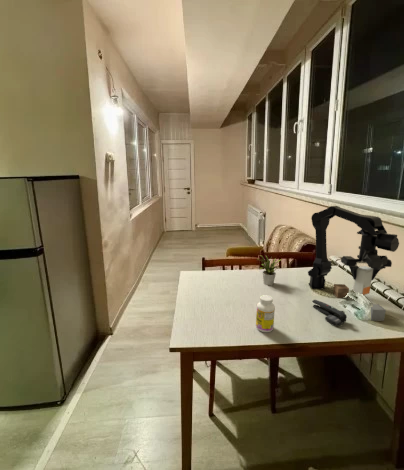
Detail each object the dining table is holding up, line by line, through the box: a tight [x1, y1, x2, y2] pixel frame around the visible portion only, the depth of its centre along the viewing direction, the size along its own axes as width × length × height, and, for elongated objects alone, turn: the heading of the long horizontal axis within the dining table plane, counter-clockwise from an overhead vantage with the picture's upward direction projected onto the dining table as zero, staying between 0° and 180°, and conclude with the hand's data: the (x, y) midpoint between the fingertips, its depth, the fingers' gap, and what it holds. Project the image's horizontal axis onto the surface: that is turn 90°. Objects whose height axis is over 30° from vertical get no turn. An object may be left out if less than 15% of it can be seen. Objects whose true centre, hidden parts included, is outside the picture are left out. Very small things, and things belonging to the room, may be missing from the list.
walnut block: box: [332, 283, 350, 299], centre depth 129 cm, size 5×5×5 cm
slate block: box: [370, 303, 387, 322], centre depth 110 cm, size 5×5×5 cm
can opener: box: [312, 299, 347, 327], centre depth 111 cm, size 18×7×6 cm, turn 15°
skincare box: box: [352, 265, 373, 296], centre depth 117 cm, size 6×4×12 cm
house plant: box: [256, 255, 283, 286], centre depth 143 cm, size 14×14×16 cm
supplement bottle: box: [255, 294, 276, 333], centre depth 101 cm, size 7×7×13 cm
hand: (363, 279), depth 117 cm, fingers closed on skincare box, 7 cm apart
